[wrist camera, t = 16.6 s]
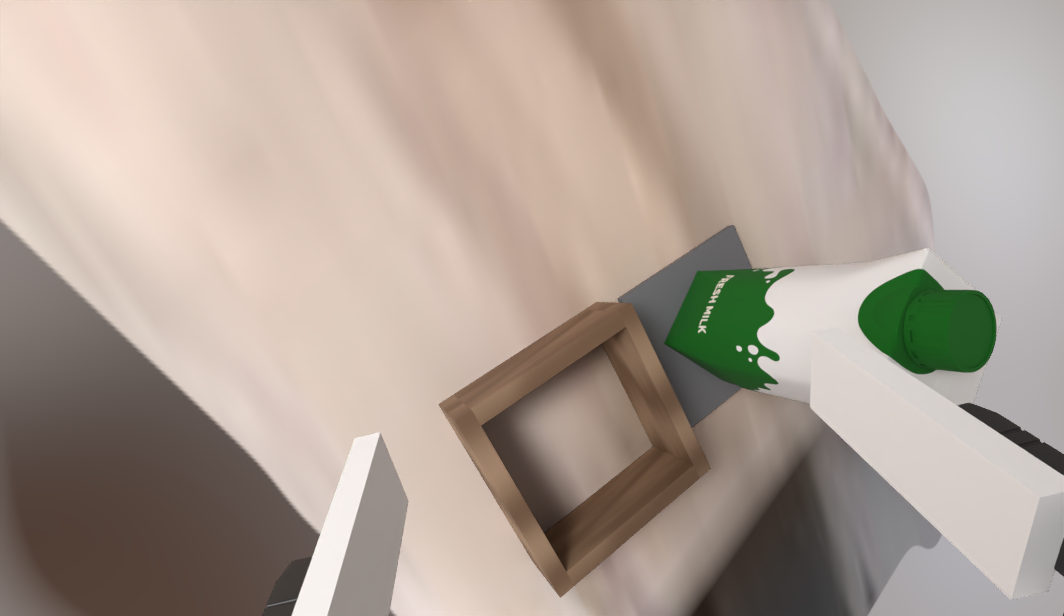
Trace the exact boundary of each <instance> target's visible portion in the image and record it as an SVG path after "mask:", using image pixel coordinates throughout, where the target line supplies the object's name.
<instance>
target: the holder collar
mask: <svg viewBox="0 0 1064 616" xmlns="http://www.w3.org/2000/svg"><path fill="white" fill-rule="evenodd" d="M600 344H602V345H603V347H604V349H605V351H606V353H607V355H608V357H609V359H610V361H611V363H612V365H613V367H614V369H615V371H616V373H617V375H618V377H619V379H620V381H621V383H622V385H623V387H624V389H625V391H626V393H627V395H628V397H629V399H630V401H631V403H632V405H633V407H634V409H635V411H636V413H637V415H638V417H639V419H640V421H641V423H642V425H643V427H644V429H645V431H646V433H647V435H648V437H649V439H650V441H651V443H652V445H653V447H652V448H651V449H650V450H648V451H647V452H646V453H645V454H643V455H642V456H641V457H640V458H638V459H637V460H636V461H635V462H633V463H632V464H631V465H629V466H628V467H627V468H626V469H624V470H623V471H622V472H621V473H619V474H618V475H617V476H616V477H614V478H613V479H612V480H611V481H609V482H608V483H607V484H606V485H604V486H603V487H602V488H601V489H599V490H598V491H597V492H596V493H594V494H593V495H592V496H591V497H589V498H588V499H587V500H586V501H584V502H583V503H582V504H581V505H579V506H578V507H577V508H576V509H574V510H573V511H572V512H571V513H569V514H568V515H567V516H566V517H564V518H563V519H562V520H561V521H559V522H558V523H557V524H556V525H554V526H553V527H552V528H551V529H549V530H548V531H547V532H546V533H543V531H542V529H541V528H540V526H539V524H538V523H537V521H536V519H535V517H534V516H533V514H532V512H531V511H530V509H529V507H528V505H527V504H526V502H525V500H524V499H523V497H522V495H521V493H520V492H519V490H518V488H517V487H516V485H515V483H514V481H513V480H512V478H511V476H510V475H509V473H508V471H507V469H506V468H505V466H504V464H503V463H502V461H501V459H500V458H499V456H498V454H497V452H496V451H495V449H494V447H493V446H492V444H491V442H490V440H489V439H488V437H487V435H486V434H485V432H484V430H483V428H482V427H481V425H483V424H484V423H486V422H487V421H489V420H490V419H492V418H493V417H495V416H496V415H498V414H499V413H501V412H502V411H503V410H505V409H506V408H508V407H509V406H511V405H512V404H514V403H515V402H517V401H518V400H520V399H521V398H522V397H524V396H525V395H527V394H528V393H530V392H531V391H533V390H534V389H536V388H537V387H539V386H540V385H542V384H543V383H544V382H546V381H547V380H549V379H550V378H552V377H553V376H555V375H556V374H558V373H559V372H561V371H562V370H563V369H565V368H566V367H568V366H569V365H571V364H572V363H574V362H575V361H577V360H578V359H580V358H581V357H583V356H584V355H585V354H587V353H588V352H590V351H591V350H593V349H594V348H596V347H597V346H599V345H600ZM439 406H440V408H441V409H442V411H443V413H444V414H445V416H446V418H447V419H448V421H449V423H450V424H451V426H452V428H453V429H454V431H455V433H456V434H457V436H458V438H459V439H460V441H461V443H462V444H463V446H464V448H465V449H466V451H467V453H468V454H469V456H470V458H471V459H472V461H473V463H474V464H475V466H476V468H477V469H478V471H479V473H480V474H481V476H482V478H483V479H484V481H485V483H486V484H487V486H488V488H489V489H490V491H491V493H492V494H493V496H494V498H495V499H496V501H497V503H498V504H499V506H500V508H501V509H502V511H503V513H504V514H505V516H506V518H507V519H508V521H509V523H510V524H511V526H512V528H513V529H514V531H515V533H516V534H517V536H518V538H519V539H520V541H521V543H522V544H523V546H524V548H525V549H526V551H527V553H528V554H529V556H530V558H531V559H532V561H533V562H534V564H535V565H536V566H537V568H538V569H539V570H540V572H541V573H542V574H543V576H544V577H545V578H546V579H547V581H548V582H549V583H550V585H551V586H552V587H553V589H554V590H555V591H556V593H557V594H558V595H559V597H560V598H561V597H562V596H563V595H564V594H565V593H566V592H568V591H569V590H570V589H571V588H572V587H573V586H575V585H576V584H577V583H578V582H579V581H580V580H582V579H583V578H584V577H585V576H586V575H587V574H589V573H590V572H591V571H592V570H593V569H594V568H596V567H597V566H598V565H599V564H600V563H601V562H603V561H604V560H605V559H606V558H607V557H608V556H610V555H611V554H612V553H613V552H614V551H615V550H616V549H618V548H619V547H620V546H621V545H622V544H623V543H625V542H626V541H627V540H628V539H629V538H630V537H632V536H633V535H634V534H635V533H636V532H637V531H639V530H640V529H641V528H642V527H643V526H644V525H646V524H647V523H648V522H649V521H650V520H651V519H653V518H654V517H655V516H656V515H657V514H658V513H660V512H661V511H662V510H663V509H664V508H665V507H667V506H668V505H669V504H670V503H671V502H672V501H674V500H675V499H676V498H677V497H678V496H679V495H681V494H682V493H683V492H684V491H685V490H686V489H688V488H689V487H690V486H691V485H692V484H693V483H694V482H696V481H697V480H698V479H699V478H700V477H701V476H703V475H704V474H705V473H706V472H707V471H708V470H710V469H711V468H710V465H709V463H708V461H707V459H706V457H705V455H704V453H703V451H702V449H701V447H700V445H699V443H698V440H697V438H696V436H695V434H694V432H693V430H692V428H691V426H690V424H689V422H688V420H687V418H686V415H685V413H684V411H683V409H682V407H681V405H680V403H679V401H678V399H677V397H676V395H675V393H674V390H673V388H672V386H671V384H670V382H669V380H668V378H667V376H666V374H665V372H664V370H663V368H662V365H661V363H660V361H659V359H658V357H657V355H656V353H655V351H654V349H653V347H652V345H651V343H650V340H649V338H648V336H647V334H646V332H645V330H644V328H643V326H642V324H641V322H640V320H639V318H638V315H637V313H636V311H635V309H634V307H633V305H632V303H605V302H596V303H595V304H593V305H591V306H590V307H588V308H587V309H585V310H584V311H582V312H581V313H579V314H578V315H576V316H574V317H573V318H571V319H570V320H568V321H567V322H565V323H564V324H562V325H561V326H559V327H557V328H556V329H554V330H553V331H551V332H550V333H548V334H547V335H545V336H544V337H542V338H540V339H539V340H537V341H536V342H534V343H533V344H531V345H530V346H528V347H527V348H525V349H523V350H522V351H520V352H519V353H517V354H516V355H514V356H513V357H511V358H510V359H508V360H506V361H505V362H503V363H502V364H500V365H499V366H497V367H496V368H494V369H493V370H491V371H489V372H488V373H486V374H485V375H483V376H482V377H480V378H479V379H477V380H476V381H474V382H472V383H471V384H469V385H468V386H466V387H465V388H463V389H462V390H460V391H459V392H457V393H455V394H454V395H452V396H451V397H449V398H448V399H446V400H445V401H443V402H442V403H440V404H439Z"/></svg>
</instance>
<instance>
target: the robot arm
mask: <svg viewBox="0 0 1064 616" xmlns="http://www.w3.org/2000/svg"><path fill="white" fill-rule="evenodd" d="M810 408H811V409H812V410H813V411H814V412H815V413H816V414H817V415H818V416H819V417H820V418H821V419H822V420H823V421H824V422H825V423H827V424H828V425H829V426H830V427H831V428H832V429H833V430H834V431H835V432H836V433H837V434H838V435H839V436H840V437H841V438H842V439H843V440H844V441H845V442H846V443H847V444H848V445H850V446H851V447H852V448H853V449H854V450H855V451H856V452H857V453H858V454H859V455H860V456H861V457H862V458H863V459H864V460H865V461H866V462H867V463H868V464H869V465H870V466H871V467H873V468H874V469H875V470H876V471H877V472H878V473H879V474H880V475H881V476H882V477H883V478H884V479H885V480H886V481H887V482H888V483H889V484H890V485H891V486H892V487H893V488H894V489H896V490H897V491H898V492H899V493H900V494H901V495H902V496H903V497H904V498H905V499H906V500H907V501H908V502H909V503H910V504H911V505H912V506H913V507H914V508H915V509H916V510H917V511H918V512H920V513H921V514H922V515H923V516H924V517H925V518H926V519H927V520H928V521H929V522H930V523H931V524H932V525H933V526H934V527H935V528H936V529H937V530H938V531H939V532H940V533H941V534H943V535H944V536H945V537H946V538H947V539H948V540H949V541H950V542H951V543H952V544H953V545H954V546H955V547H956V548H957V549H958V550H959V551H960V552H961V553H962V554H964V555H965V556H966V557H967V558H968V559H969V560H970V561H971V562H972V563H973V564H974V565H975V566H976V567H977V568H978V569H979V570H980V571H981V572H982V573H983V574H984V575H985V576H986V577H987V578H989V579H990V580H991V581H992V582H993V583H994V584H995V585H996V586H997V587H998V588H999V589H1000V590H1001V591H1002V592H1003V593H1004V594H1005V595H1006V596H1007V597H1008V598H1009V599H1011V600H1014V599H1018V598H1022V597H1026V596H1031V595H1035V594H1039V593H1043V592H1047V591H1049V588H1050V585H1051V582H1052V578H1053V576H1054V572H1055V570H1056V571H1058V572H1059V573H1060V574H1061V575H1063V576H1064V454H1062V453H1061V452H1059V451H1058V450H1056V449H1054V448H1053V447H1051V446H1050V445H1048V444H1046V443H1041V442H1040V440H1039V439H1038V438H1036V437H1034V436H1033V435H1032V434H1030V433H1028V432H1027V431H1025V430H1024V431H1022V430H1021V428H1020V427H1019V426H1017V425H1016V424H1014V423H1012V422H1011V421H1009V420H1008V419H1006V418H1004V417H1003V416H1001V415H1000V414H998V413H996V412H993V411H990V410H988V409H985V408H982V407H980V406H977V405H974V404H972V403H965V404H961V405H955V404H954V403H952V402H951V401H949V400H948V399H946V398H945V397H943V396H942V395H940V394H939V393H937V392H936V391H934V390H933V389H931V388H930V387H928V386H927V385H925V384H924V383H922V382H921V381H919V380H917V379H916V378H914V377H913V376H911V375H910V374H908V373H907V372H905V371H904V370H902V369H901V368H899V367H898V366H896V365H895V364H893V363H892V362H890V361H889V360H887V359H886V358H884V357H883V356H881V355H880V354H878V353H876V352H875V351H873V350H872V349H870V348H869V347H867V346H866V345H864V344H863V343H861V342H860V341H858V340H857V339H855V338H854V337H852V336H851V335H849V334H848V333H846V332H845V331H843V330H842V329H840V328H838V327H833V328H829V329H825V330H820V331H816V332H812V354H811V391H810ZM407 506H408V499H407V496H406V494H405V491H404V489H403V487H402V484H401V482H400V479H399V477H398V474H397V472H396V469H395V467H394V465H393V462H392V460H391V457H390V455H389V452H388V450H387V448H386V445H385V443H384V440H383V438H382V435H381V433H380V432H379V433H375V434H370V435H366V436H362V437H357V438H355V439H354V442H353V445H352V448H351V450H350V453H349V456H348V459H347V462H346V464H345V467H344V470H343V473H342V476H341V478H340V481H339V484H338V487H337V490H336V492H335V495H334V498H333V501H332V504H331V506H330V509H329V512H328V515H327V518H326V520H325V523H324V526H323V529H322V532H321V534H320V537H319V540H318V543H317V546H316V549H315V551H314V554H313V557H309V558H305V559H300V560H295V561H292V562H291V563H290V565H289V566H288V567H287V569H286V570H285V571H284V573H283V574H282V575H281V577H280V578H279V579H278V580H277V581H276V583H275V586H274V588H273V590H272V593H271V595H270V598H269V600H268V603H267V609H265V610H264V612H263V615H262V616H389V611H390V606H391V600H392V594H393V588H394V582H395V576H396V571H397V565H398V559H399V553H400V547H401V541H402V536H403V530H404V524H405V518H406V512H407ZM1063 616H1064V614H1063Z"/></svg>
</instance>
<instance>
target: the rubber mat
mask: <svg viewBox="0 0 1064 616" xmlns="http://www.w3.org/2000/svg"><path fill="white" fill-rule="evenodd" d="M737 269H752V268H751V265H750V263H749V261H748V258H747V256H746V253H745V251H744V249H743V246H742V244H741V241H740V239H739V237H738V234H737V232H736V229H735V227H734V225H731V226H728V227H726V228H725V229H723V230H722V231H720V232H719V233H717V234H715V235H714V236H712V237H711V238H709V239H708V240H706V241H705V242H703V243H702V244H700V245H699V246H697V247H696V248H694V249H693V250H691V251H689V252H688V253H686V254H685V255H683V256H682V257H680V258H679V259H677V260H676V261H674V262H673V263H671V264H670V265H668V266H667V267H665V268H664V269H662V270H660V271H659V272H657V273H656V274H654V275H653V276H651V277H650V278H648V279H647V280H645V281H644V282H642V283H641V284H639V285H638V286H636V287H635V288H633V289H631V290H630V291H628V292H627V293H625V294H624V295H622V296H621V297H619V298H618V301H619V303H632V305H633V307H634V309H635V311H636V313H637V315H638V318H639V320H640V322H641V324H642V326H643V328H644V330H645V332H646V334H647V336H648V338H649V340H650V343H651V345H652V347H653V349H654V351H655V353H656V355H657V357H658V359H659V361H660V363H661V365H662V368H663V370H664V372H665V374H666V376H667V378H668V380H669V382H670V384H671V386H672V388H673V390H674V393H675V395H676V397H677V399H678V401H679V403H680V405H681V407H682V409H683V411H684V413H685V415H686V418H687V420H688V422H689V424H690V426H691V428H692V427H693V426H695V425H696V424H697V423H698V422H699V421H701V420H702V419H703V418H704V417H706V416H707V415H708V414H709V413H711V412H712V411H713V410H714V409H716V408H717V407H718V406H719V405H720V404H722V403H723V402H724V401H725V400H727V399H728V398H729V397H730V396H732V395H733V394H734V393H735V392H737V391H738V390H739V389H740V388H741V387H740V386H737V385H734V384H731V383H728V382H726V381H722V380H721V379H719V378H718V377H716V376H714V375H713V374H711V373H710V372H708V371H707V370H705V369H703V368H702V367H700V366H699V365H697V364H695V363H694V362H692V361H691V360H689V359H687V358H686V357H684V356H683V355H681V354H680V353H678V352H676V351H675V350H673V349H672V348H670V347H668V346H667V345H665V344H664V342H665V340H666V338H667V336H668V334H669V332H670V329H671V327H672V325H673V323H674V321H675V319H676V316H677V314H678V312H679V310H680V308H681V306H682V303H683V301H684V299H685V297H686V295H687V293H688V290H689V288H690V286H691V284H692V282H693V280H694V277H695V275H696V273H697V271H713V270H737Z"/></svg>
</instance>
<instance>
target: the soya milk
mask: <svg viewBox="0 0 1064 616" xmlns="http://www.w3.org/2000/svg"><path fill="white" fill-rule="evenodd" d="M1001 321H1002V318H1001V317H1000V316H999V315H998V314H997V313H996V312H995V311H994V310H993V307H992V305H991V303H990V301H989V299H988V298H987V297H986V296H985V295H984V294H983V293H981V292H979V291H978V290H976V289H975V288H974V287H973V286H971V285H969V284H968V283H967V282H966V281H965V280H964V279H963V278H962V277H961V276H959V275H958V274H957V273H956V272H955V271H954V270H953V269H952V268H951V267H949V265H948V264H946V263H945V262H944V261H943V260H942V259H941V258H940V257H939V256H938V255H936V253H934V252H933V251H932V250H931V249H927V248H925V249H921V250H917V251H913V252H908V253H904V254H900V255H896V256H892V257H888V258H883V259H879V260H875V261H870V262H860V263H844V264H827V265H811V266H795V267H778V268H762V269H737V270H713V271H697V273H696V275H695V277H694V280H693V282H692V284H691V286H690V288H689V290H688V293H687V295H686V297H685V299H684V301H683V303H682V306H681V308H680V310H679V312H678V314H677V316H676V319H675V321H674V323H673V325H672V327H671V329H670V332H669V334H668V336H667V338H666V340H665V342H664V344H665V345H667V346H668V347H670V348H672V349H673V350H675V351H676V352H678V353H680V354H681V355H683V356H684V357H686V358H687V359H689V360H691V361H692V362H694V363H695V364H697V365H699V366H700V367H702V368H703V369H705V370H707V371H708V372H710V373H711V374H713V375H714V376H716V377H718V378H719V379H721V380H722V381H726V382H728V383H731V384H734V385H737V386H740V387H742V388H746V389H749V390H753V391H757V392H761V393H765V394H769V395H774V396H778V397H783V398H787V399H791V400H796V401H800V402H804V403H809V404H810V391H811V354H812V332H816V331H820V330H825V329H829V328H833V327H838V328H840V329H842V330H843V331H845V332H846V333H848V334H849V335H851V336H852V337H854V338H855V339H857V340H858V341H860V342H861V343H863V344H864V345H866V346H867V347H869V348H870V349H872V350H873V351H875V352H876V353H878V354H880V355H881V356H883V357H884V358H886V359H887V360H889V361H890V362H892V363H893V364H895V365H896V366H898V367H899V368H901V369H902V370H904V371H905V372H907V373H908V374H910V375H911V376H913V377H914V378H916V379H917V380H919V381H921V382H922V383H924V384H925V385H927V386H928V387H930V388H931V389H933V390H934V391H936V392H937V393H939V394H940V395H942V396H943V397H945V398H946V399H948V400H949V401H951V402H952V403H954V404H955V405H961V404H965V403H972V404H973V402H974V399H975V396H976V394H977V391H978V388H979V385H980V382H981V379H982V376H983V373H984V370H985V368H986V365H987V362H988V360H989V358H990V356H991V354H992V352H993V349H994V345H995V341H996V336H997V333H998V330H999V327H1000V324H1001Z"/></svg>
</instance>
